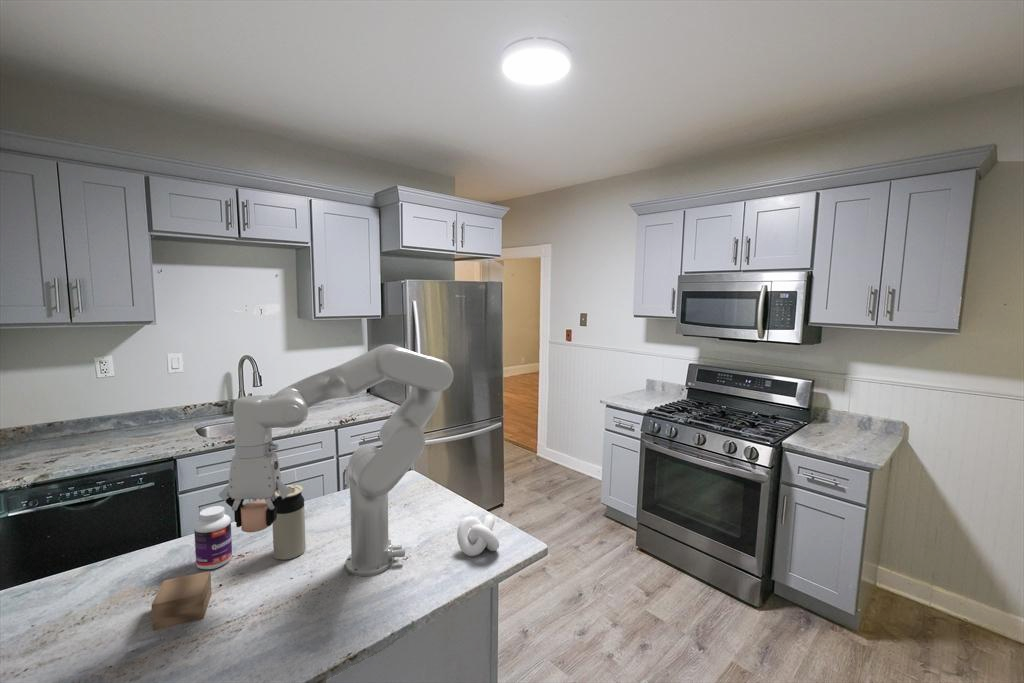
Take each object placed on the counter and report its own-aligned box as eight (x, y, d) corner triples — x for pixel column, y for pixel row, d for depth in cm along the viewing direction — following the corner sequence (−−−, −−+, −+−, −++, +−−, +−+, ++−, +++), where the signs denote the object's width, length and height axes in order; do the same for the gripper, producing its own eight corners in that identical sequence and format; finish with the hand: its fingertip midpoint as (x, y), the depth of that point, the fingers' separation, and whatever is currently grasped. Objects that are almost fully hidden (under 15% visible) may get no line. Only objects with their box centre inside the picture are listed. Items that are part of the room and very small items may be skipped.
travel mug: (278, 564, 119) (275, 499, 117) (270, 551, 125) (268, 489, 123) (309, 553, 124) (307, 491, 123) (300, 541, 130) (298, 481, 128)
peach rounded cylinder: (274, 519, 109) (274, 499, 109) (264, 531, 103) (263, 511, 103) (248, 520, 108) (247, 500, 108) (236, 533, 102) (235, 512, 102)
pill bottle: (214, 573, 115) (211, 519, 113) (188, 569, 116) (185, 516, 115) (239, 556, 123) (237, 505, 121) (214, 552, 124) (212, 502, 123)
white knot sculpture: (510, 549, 128) (510, 519, 127) (481, 567, 119) (481, 535, 118) (481, 535, 135) (481, 506, 134) (452, 552, 126) (452, 521, 125)
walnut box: (211, 594, 107) (210, 570, 106) (203, 619, 99) (202, 593, 98) (165, 604, 103) (163, 580, 103) (153, 631, 95) (151, 604, 95)
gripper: (298, 443, 109) (300, 514, 110) (222, 444, 107) (225, 517, 108) (286, 454, 101) (288, 530, 103) (204, 455, 99) (208, 533, 101)
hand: (256, 523), depth 106 cm, fingers closed on peach rounded cylinder, 6 cm apart
